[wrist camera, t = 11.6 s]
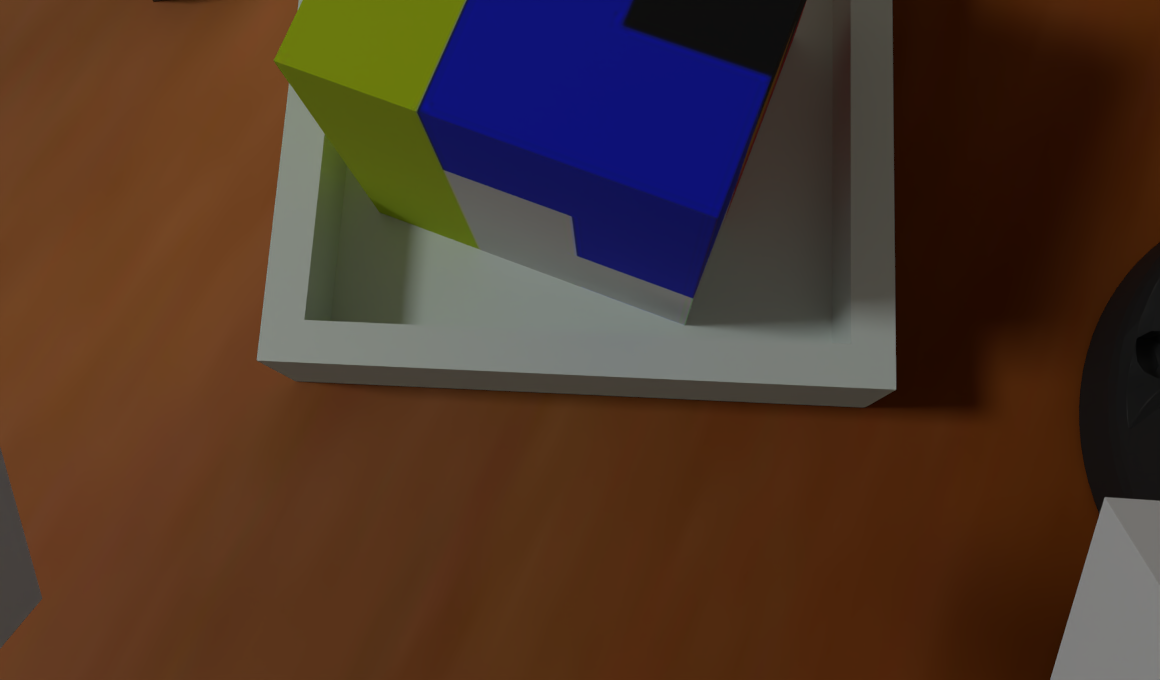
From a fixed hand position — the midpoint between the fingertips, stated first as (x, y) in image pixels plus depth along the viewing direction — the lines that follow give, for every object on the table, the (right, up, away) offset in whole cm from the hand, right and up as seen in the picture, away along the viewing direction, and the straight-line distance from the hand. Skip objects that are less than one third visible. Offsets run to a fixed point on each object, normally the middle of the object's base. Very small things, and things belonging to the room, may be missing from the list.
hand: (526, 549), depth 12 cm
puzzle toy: (+1, +9, +20) cm, 22 cm away
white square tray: (+1, +9, +21) cm, 23 cm away
